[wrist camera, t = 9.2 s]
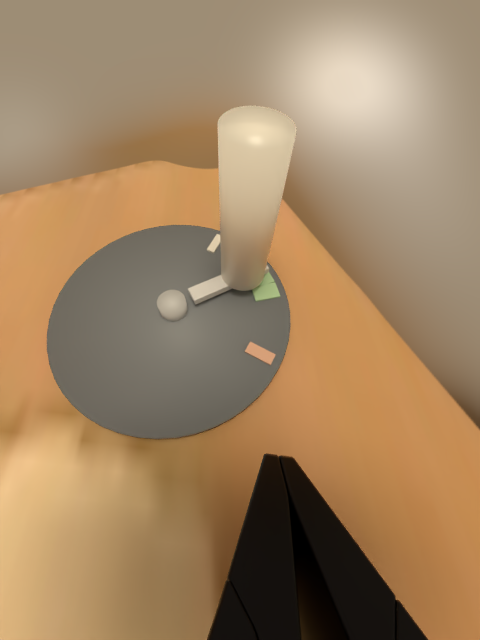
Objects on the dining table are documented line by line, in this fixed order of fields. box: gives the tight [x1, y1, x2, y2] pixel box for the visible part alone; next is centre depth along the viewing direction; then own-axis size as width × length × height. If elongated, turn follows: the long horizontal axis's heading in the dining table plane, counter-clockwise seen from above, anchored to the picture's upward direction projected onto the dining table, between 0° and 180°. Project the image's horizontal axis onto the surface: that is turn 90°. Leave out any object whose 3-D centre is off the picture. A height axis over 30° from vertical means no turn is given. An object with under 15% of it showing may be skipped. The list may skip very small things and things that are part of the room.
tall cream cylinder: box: [188, 106, 297, 305], centre depth 18 cm, size 8×4×13 cm, turn 119°
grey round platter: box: [47, 225, 290, 439], centre depth 22 cm, size 21×21×2 cm
